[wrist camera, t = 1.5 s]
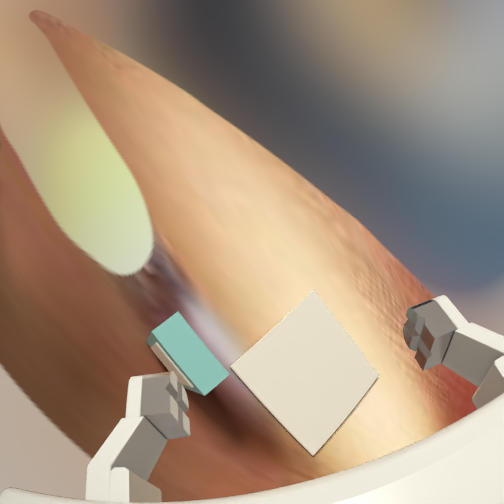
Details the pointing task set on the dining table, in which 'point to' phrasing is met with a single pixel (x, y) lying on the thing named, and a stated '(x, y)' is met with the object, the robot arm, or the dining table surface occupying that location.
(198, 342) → the slab
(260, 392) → the mat
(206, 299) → the dining table surface
